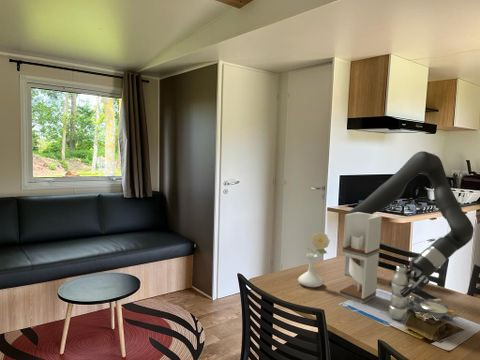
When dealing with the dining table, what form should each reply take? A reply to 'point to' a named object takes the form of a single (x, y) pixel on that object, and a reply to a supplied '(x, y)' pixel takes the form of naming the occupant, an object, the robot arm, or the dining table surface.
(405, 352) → the dining table surface
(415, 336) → the dining table surface
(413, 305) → the sprocket plate
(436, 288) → the dining table surface
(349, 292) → the display case
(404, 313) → the silver bottle
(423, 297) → the smartphone
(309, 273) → the flower in vase
